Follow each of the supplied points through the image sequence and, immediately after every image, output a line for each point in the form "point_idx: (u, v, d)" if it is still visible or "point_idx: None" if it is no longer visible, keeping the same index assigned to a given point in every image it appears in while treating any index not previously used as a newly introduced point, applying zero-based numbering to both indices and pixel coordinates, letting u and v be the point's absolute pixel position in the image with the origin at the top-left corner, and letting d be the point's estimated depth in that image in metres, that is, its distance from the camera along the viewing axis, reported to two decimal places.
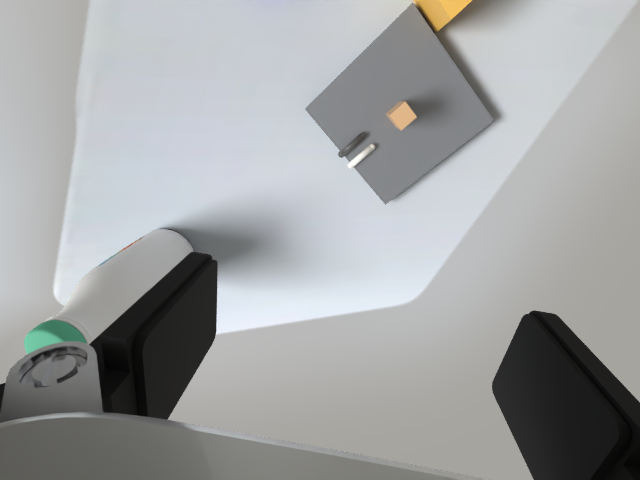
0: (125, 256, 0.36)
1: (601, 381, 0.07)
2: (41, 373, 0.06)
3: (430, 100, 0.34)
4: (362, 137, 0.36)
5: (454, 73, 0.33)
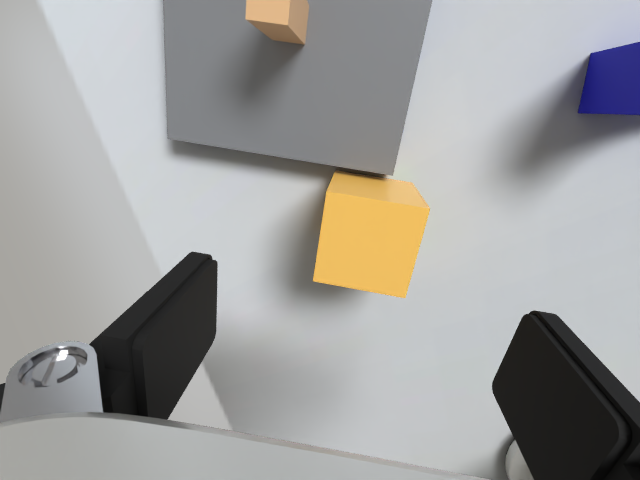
0: None
1: (601, 381, 0.07)
2: (41, 373, 0.06)
3: (264, 88, 0.19)
4: None
5: (268, 146, 0.20)
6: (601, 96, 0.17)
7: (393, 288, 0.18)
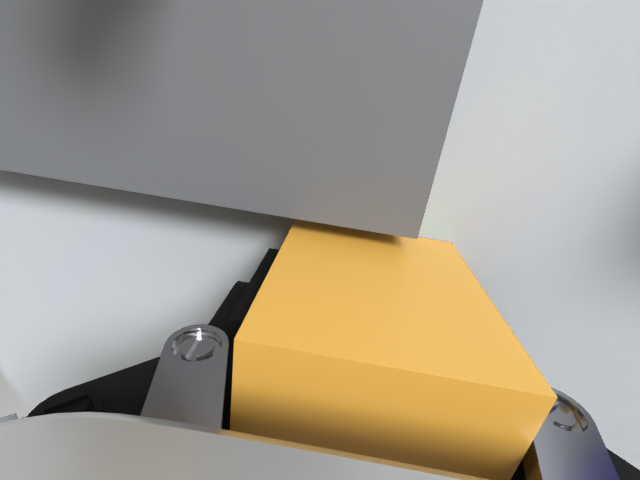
0: None
1: None
2: (189, 350, 0.06)
3: (113, 41, 0.08)
4: None
5: (144, 175, 0.09)
6: None
7: None
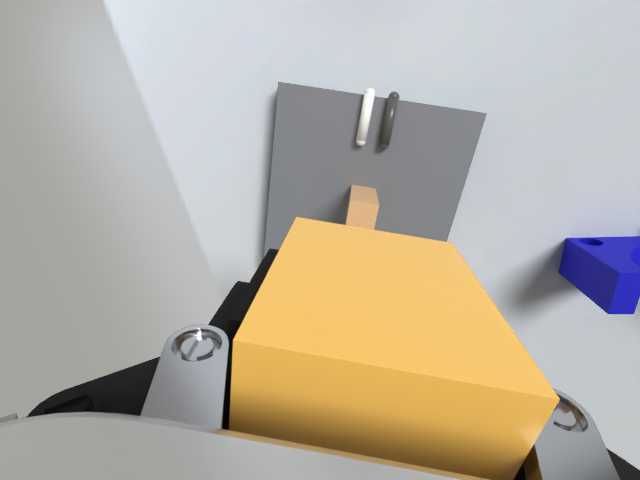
0: None
1: None
2: (189, 350, 0.06)
3: None
4: (383, 142, 0.23)
5: None
6: (573, 273, 0.25)
7: None
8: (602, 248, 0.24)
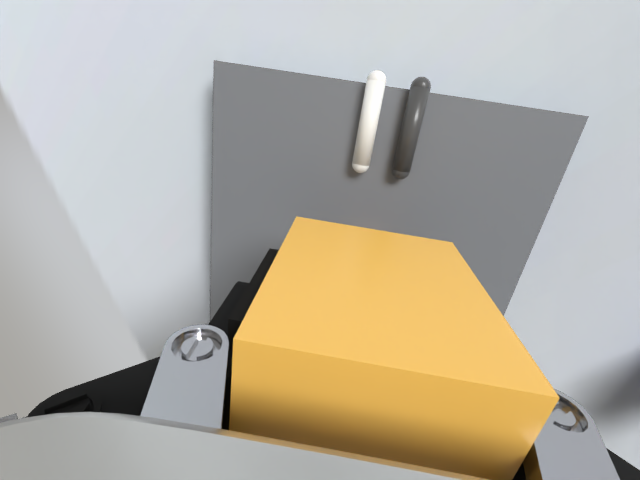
0: None
1: None
2: (189, 350, 0.06)
3: None
4: (399, 168, 0.13)
5: None
6: None
7: None
8: None
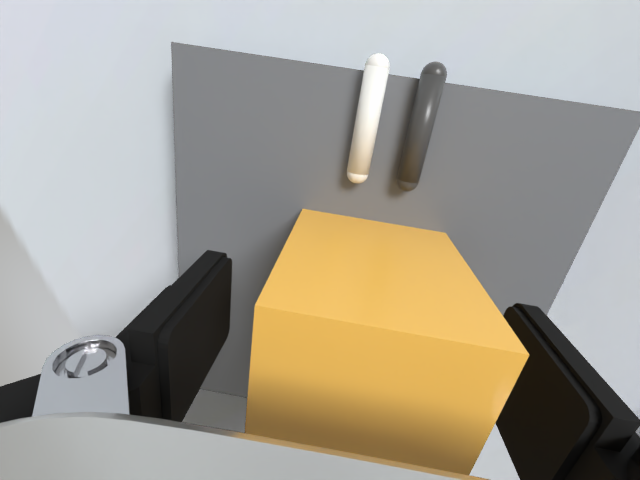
0: None
1: (575, 368, 0.07)
2: (74, 365, 0.06)
3: None
4: (406, 178, 0.10)
5: None
6: None
7: None
8: None
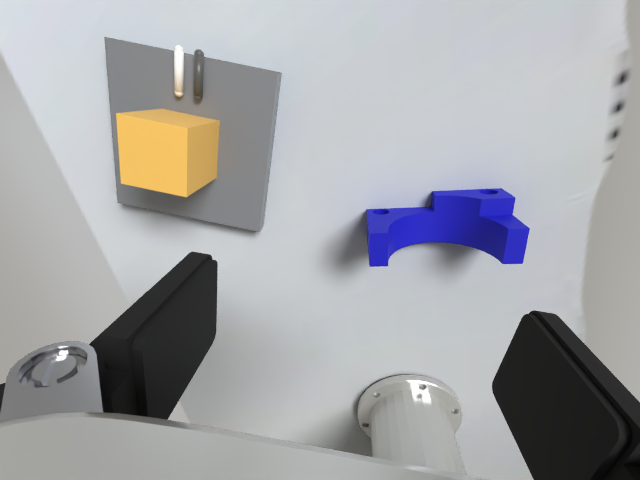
0: None
1: (601, 381, 0.07)
2: (41, 373, 0.06)
3: None
4: (195, 94, 0.27)
5: (182, 211, 0.32)
6: (367, 237, 0.31)
7: (176, 189, 0.25)
8: (381, 216, 0.30)
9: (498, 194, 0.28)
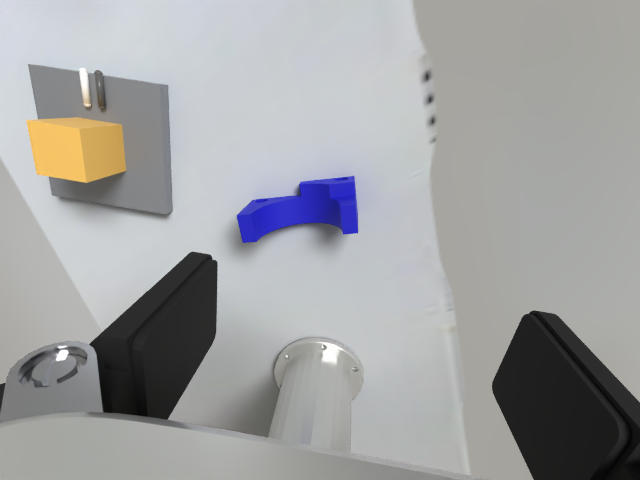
0: None
1: (601, 381, 0.07)
2: (41, 373, 0.06)
3: None
4: (98, 104, 0.34)
5: (103, 199, 0.39)
6: None
7: (78, 177, 0.32)
8: (257, 204, 0.37)
9: (345, 180, 0.35)
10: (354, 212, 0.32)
